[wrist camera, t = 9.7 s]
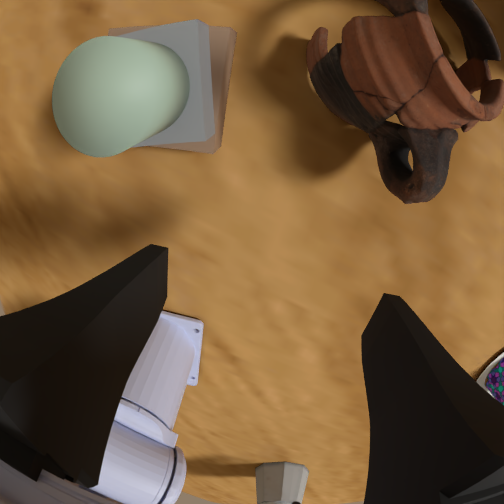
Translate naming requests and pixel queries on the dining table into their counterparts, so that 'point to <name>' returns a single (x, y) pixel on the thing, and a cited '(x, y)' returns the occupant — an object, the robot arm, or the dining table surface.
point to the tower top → (199, 70)
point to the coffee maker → (280, 483)
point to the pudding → (494, 379)
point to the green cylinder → (118, 94)
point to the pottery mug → (408, 88)
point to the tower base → (221, 68)
